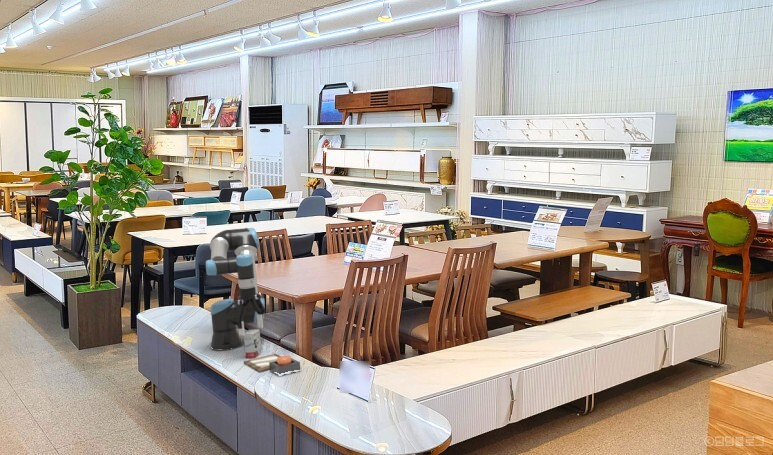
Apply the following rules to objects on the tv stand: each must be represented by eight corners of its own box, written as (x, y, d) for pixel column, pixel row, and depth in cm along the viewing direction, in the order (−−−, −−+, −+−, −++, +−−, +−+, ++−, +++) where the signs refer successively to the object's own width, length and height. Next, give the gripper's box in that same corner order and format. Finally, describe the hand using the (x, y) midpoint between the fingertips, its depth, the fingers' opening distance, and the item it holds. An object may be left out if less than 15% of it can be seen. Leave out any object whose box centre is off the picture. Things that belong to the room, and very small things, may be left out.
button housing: (269, 371, 298) (269, 362, 298) (290, 366, 304) (289, 357, 303) (279, 376, 290) (278, 367, 290) (300, 371, 296) (299, 362, 295)
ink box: (255, 358, 320) (252, 333, 319) (245, 358, 321) (243, 333, 320) (262, 352, 328) (259, 328, 327) (252, 352, 329) (250, 329, 328)
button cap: (275, 366, 298) (274, 357, 297) (288, 363, 301) (287, 354, 300) (281, 369, 293) (280, 360, 292) (294, 366, 296) (293, 357, 295)
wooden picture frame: (243, 363, 313) (243, 361, 313) (275, 355, 322) (275, 353, 321) (259, 372, 298) (259, 369, 298) (292, 364, 307) (292, 361, 306)
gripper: (235, 292, 308) (240, 338, 310) (270, 282, 330) (274, 325, 332) (222, 292, 312) (227, 337, 314) (257, 282, 334) (261, 324, 336)
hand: (251, 331), depth 323 cm, fingers open, 13 cm apart
